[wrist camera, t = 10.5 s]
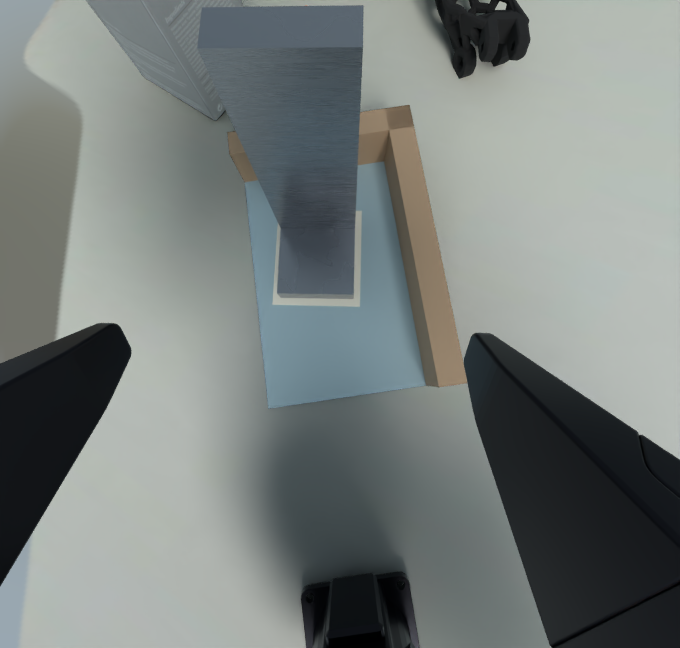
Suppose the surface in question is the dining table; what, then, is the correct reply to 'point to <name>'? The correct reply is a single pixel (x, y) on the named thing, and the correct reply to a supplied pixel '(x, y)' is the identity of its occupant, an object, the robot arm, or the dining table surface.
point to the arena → (361, 284)
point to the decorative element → (484, 33)
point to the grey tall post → (296, 128)
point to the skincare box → (166, 45)
